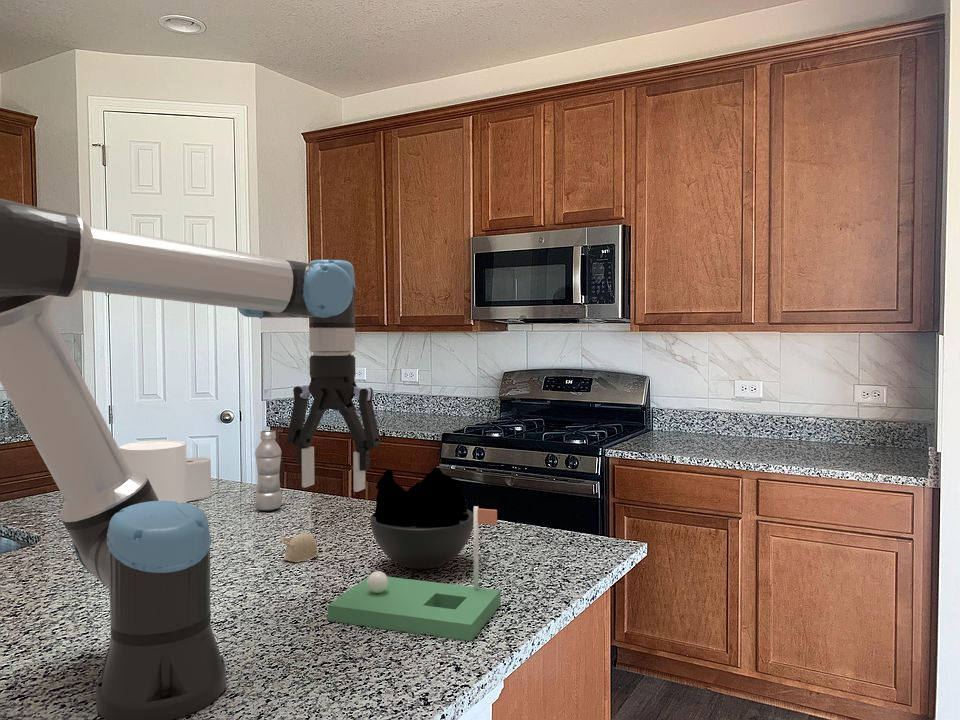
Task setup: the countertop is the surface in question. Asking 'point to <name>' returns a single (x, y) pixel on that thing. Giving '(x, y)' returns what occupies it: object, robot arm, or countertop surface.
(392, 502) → the coal bowl
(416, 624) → the green
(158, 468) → the canister
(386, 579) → the ball
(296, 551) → the decorative ornament
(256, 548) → the countertop surface
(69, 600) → the countertop surface
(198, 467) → the toilet tissue
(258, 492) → the plastic bottle
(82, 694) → the countertop surface
